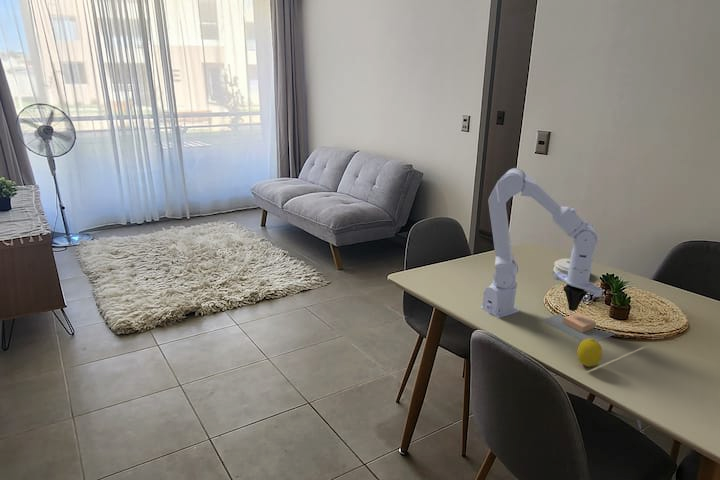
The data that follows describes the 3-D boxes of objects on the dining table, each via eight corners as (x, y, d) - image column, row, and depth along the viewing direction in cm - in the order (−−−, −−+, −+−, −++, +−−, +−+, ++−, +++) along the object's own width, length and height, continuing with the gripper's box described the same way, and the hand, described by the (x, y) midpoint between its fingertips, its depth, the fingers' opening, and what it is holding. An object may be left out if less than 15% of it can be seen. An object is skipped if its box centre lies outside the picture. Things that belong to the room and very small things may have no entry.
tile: (562, 323, 137) (581, 333, 132) (563, 317, 136) (582, 326, 131) (575, 318, 140) (595, 328, 134) (576, 312, 139) (596, 322, 134)
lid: (564, 281, 167) (566, 269, 166) (546, 268, 179) (548, 256, 178) (596, 280, 169) (598, 267, 167) (576, 267, 181) (579, 255, 179)
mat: (588, 346, 126) (588, 344, 126) (540, 321, 139) (540, 319, 139) (615, 335, 131) (615, 334, 131) (567, 312, 144) (567, 311, 144)
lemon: (578, 357, 120) (583, 330, 118) (601, 365, 117) (606, 338, 114) (572, 367, 116) (577, 339, 114) (595, 375, 113) (601, 347, 110)
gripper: (612, 273, 128) (603, 316, 133) (567, 256, 140) (561, 297, 144) (596, 277, 125) (588, 322, 129) (551, 260, 137) (545, 302, 141)
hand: (572, 309), depth 137 cm, fingers closed
